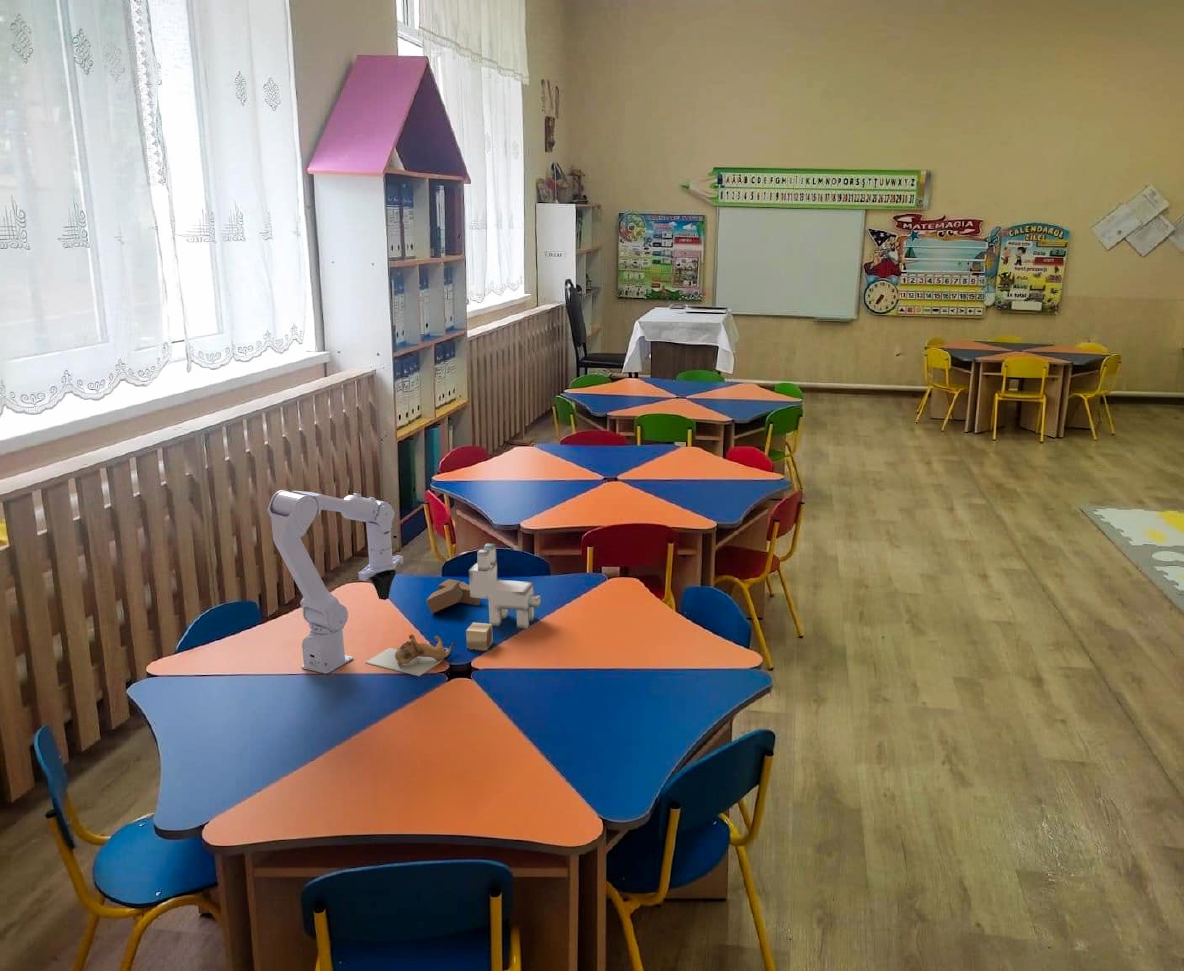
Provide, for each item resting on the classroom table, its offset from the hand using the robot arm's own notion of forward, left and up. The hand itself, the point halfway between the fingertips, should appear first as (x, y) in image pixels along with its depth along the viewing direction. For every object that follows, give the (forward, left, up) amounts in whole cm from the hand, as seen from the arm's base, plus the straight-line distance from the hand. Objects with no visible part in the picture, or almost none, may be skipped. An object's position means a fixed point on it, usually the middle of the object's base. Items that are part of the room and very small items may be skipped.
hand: (383, 598), depth 244 cm
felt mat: (-10, -14, -10) cm, 20 cm away
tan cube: (+6, -25, -10) cm, 27 cm away
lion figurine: (-4, -15, -8) cm, 17 cm away
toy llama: (+22, -23, -11) cm, 33 cm away
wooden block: (+26, -3, -11) cm, 28 cm away
